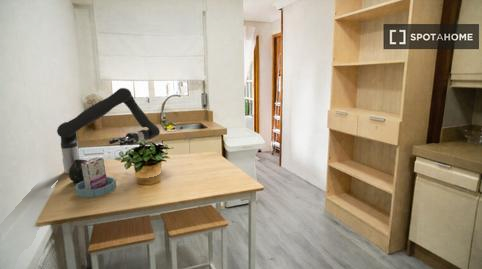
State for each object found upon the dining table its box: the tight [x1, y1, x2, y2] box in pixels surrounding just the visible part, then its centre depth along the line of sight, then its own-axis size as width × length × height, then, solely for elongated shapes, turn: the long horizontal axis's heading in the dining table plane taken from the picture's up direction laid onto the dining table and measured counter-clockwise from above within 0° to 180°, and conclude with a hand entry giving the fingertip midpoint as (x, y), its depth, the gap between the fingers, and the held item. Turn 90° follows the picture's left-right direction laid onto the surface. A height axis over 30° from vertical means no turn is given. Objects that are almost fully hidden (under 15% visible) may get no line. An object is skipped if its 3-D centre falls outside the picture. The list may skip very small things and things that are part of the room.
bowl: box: [74, 176, 117, 199], centre depth 164 cm, size 20×20×4 cm
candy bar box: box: [81, 156, 107, 190], centre depth 163 cm, size 11×5×16 cm, turn 160°
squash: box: [68, 158, 88, 184], centre depth 177 cm, size 14×15×15 cm
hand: (114, 143), depth 177 cm, fingers open, 8 cm apart
